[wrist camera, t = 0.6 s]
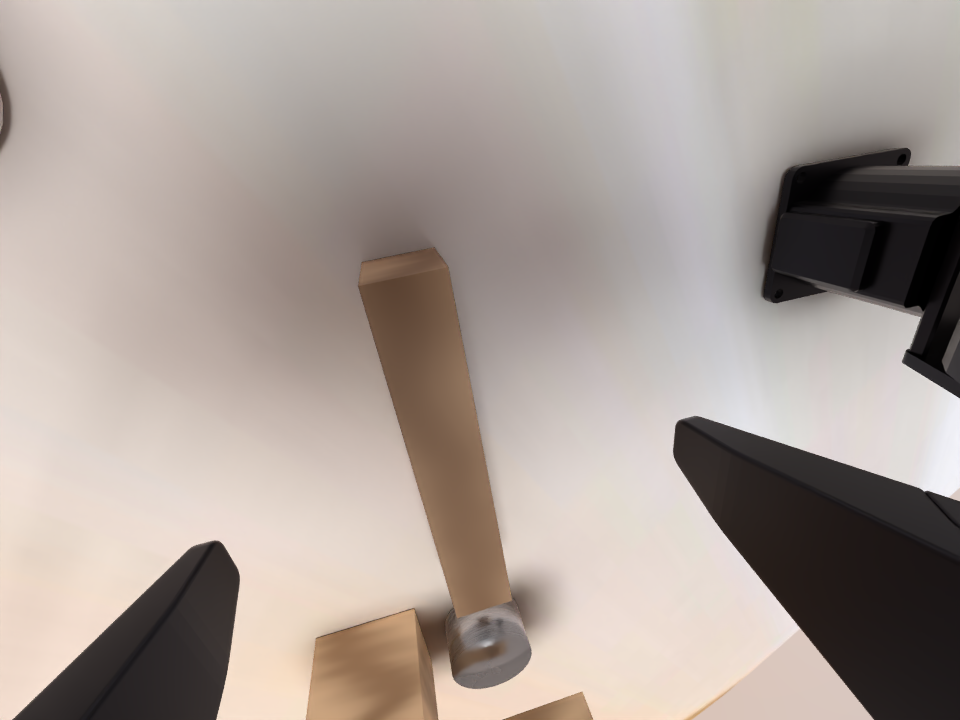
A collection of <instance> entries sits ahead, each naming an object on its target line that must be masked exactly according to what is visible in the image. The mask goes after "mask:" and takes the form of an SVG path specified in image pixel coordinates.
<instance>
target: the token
mask: <svg viewBox="0 0 960 720" xmlns="http://www.w3.org/2000/svg"><path fill="white" fill-rule="evenodd" d="M445 629H446V636H447V643H448V649H449V656H450V663H451V669H452V676H453V678H454V680H455V681H456V682H457V683H458V684H459V685H461V686H463V687H467V688H472V689H481V688H488V687H493V686H496V685H499V684H501V683H504V682H506V681H508V680H510V679H511V678H513V677H515V676H516V675H517V674H519V673H520V672H521V671H522V670H523V669H524V668H525V667H526V665H527V664H528V662H529V660H530V658H531V647H530V644H529V641H528V638H527V634H526V631H525V628H524V625H523V622H522V619H521V616H520V613H519V609H518V606H517V603H516V601H515V600H514V599H513V598H512V601H509V602H506V603H503V604H500V605H497V606H494V607H491V608H488V609H485V610H481V611H478V612H475V613H472V614H469V615H466V616H463V617H460V618H457V616H456V613H455V609H454V608H453V609H452V610H451V611H450V612H449V614H448V616H447V618H446V621H445Z"/></svg>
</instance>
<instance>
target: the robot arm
mask: <svg viewBox="0 0 960 720" xmlns="http://www.w3.org/2000/svg"><path fill="white" fill-rule="evenodd" d="M910 157H911V152H910V150H909V149H908V148H894V149H889V150H883V151H877V152H872V153H866V154H861V155H855V156H849V157H844V158H838V159H832V160H827V161H821V162H815V163H810V164H804V165H798V166H795V167H792V168H791V169H790V170H789V171H788V173H787V174H786V176H785V180H784V185H783V191H782V196H781V202H780V207H779V213H778V218H777V224H776V230H775V235H774V241H773V246H772V252H771V257H770V263H769V269H768V274H767V280H766V285H765V291H764V298H765V300H767V301H770V302H773V303H779V302H784V301H788V300H792V299H797V298H801V297H805V296H810V295H814V294H818V293H823V292H827V291H829V292H833V293H836V294H840V295H844V296H847V297H851V298H854V299H858V300H861V301H865V302H869V303H872V304H876V305H879V306H883V307H886V308H890V309H894V310H897V311H901V312H904V313H908V314H911V315H915V316H919V317H921V319H920V322H919V325H918V327H917V330H916V333H915V336H914V338H913V341H912V344H911V347H910V349H907V350H906V352H905V355H904V357H903V360H902V363H904V364H905V365H907V366H908V367H910V368H912V369H913V370H915V371H917V372H918V373H920V374H921V375H923V376H925V377H926V378H928V379H930V380H931V381H933V382H934V383H936V384H938V385H939V386H941V387H942V388H944V389H946V390H947V391H949V392H951V393H952V394H954V395H955V396H957V397H959V398H960V166H908V164H909V161H910ZM798 175H799V177H798ZM797 177H798V180H797ZM775 292H776V293H775ZM673 454H674V458H675V461H676V463H677V465H678V466H679V468H680V469H681V471H682V472H683V474H684V475H685V477H686V478H687V480H688V481H689V483H690V484H691V486H692V487H693V489H694V490H695V492H696V493H697V495H698V496H699V498H700V500H701V501H702V503H703V504H704V506H705V507H706V509H707V510H708V512H709V513H710V515H711V516H712V518H713V519H714V520H715V522H716V523H717V525H718V526H719V527H720V529H721V530H722V531H723V533H724V534H725V535H726V537H727V538H728V539H729V540H730V542H731V543H732V544H733V545H734V547H735V548H736V549H737V550H738V551H739V553H740V554H741V555H742V556H743V558H744V559H745V560H746V561H747V563H748V564H749V565H750V566H751V568H752V569H753V570H754V571H755V573H756V574H757V575H758V576H759V578H760V579H761V580H762V581H763V583H764V584H765V585H766V586H767V587H768V589H769V590H770V591H771V592H772V594H773V595H774V596H775V597H776V599H777V600H778V601H779V602H780V604H781V605H782V606H783V607H784V609H785V610H786V611H787V612H788V614H789V615H790V616H791V617H792V618H793V620H794V621H795V622H796V623H797V625H798V626H799V627H800V628H801V630H802V631H803V632H804V633H805V635H806V636H807V637H808V638H809V640H810V641H811V642H812V643H813V645H814V646H815V647H816V648H817V650H819V652H820V653H821V654H822V656H823V657H824V658H825V659H826V661H827V662H828V663H829V664H830V666H831V667H832V668H833V669H834V671H835V672H836V673H837V674H838V676H839V677H840V678H841V679H842V680H843V682H844V683H845V684H846V685H847V687H848V688H849V689H850V690H851V692H852V693H853V694H854V695H855V697H856V698H857V699H858V700H859V702H860V703H861V704H862V705H863V707H864V708H865V709H866V710H867V712H868V713H869V714H870V715H871V716H872V718H873V719H874V720H960V501H957V500H953V499H951V498H948V497H945V496H942V495H939V494H936V493H933V492H930V491H925V492H924V491H923V490H921V489H920V488H917V487H914V486H911V485H908V484H905V483H902V482H899V481H895V480H892V479H889V478H886V477H883V476H880V475H877V474H874V473H871V472H868V471H865V470H862V469H859V468H856V467H853V466H849V465H846V464H843V463H840V462H837V461H834V460H831V459H828V458H825V457H822V456H819V455H816V454H813V453H810V452H807V451H803V450H800V449H797V448H794V447H791V446H788V445H785V444H782V443H779V442H776V441H773V440H770V439H767V438H764V437H761V436H757V435H754V434H751V433H748V432H745V431H742V430H739V429H736V428H733V427H730V426H727V425H724V424H721V423H718V422H714V421H711V420H708V419H705V418H702V417H699V416H693V417H689V418H685V419H681V420H679V421H678V422H677V423H676V426H675V436H674V447H673ZM239 585H240V576H239V571H238V569H237V567H236V565H235V563H234V562H233V560H232V558H231V557H230V555H229V553H228V552H227V550H226V548H225V547H224V545H223V544H222V543H221V542H220V541H210V542H206V543H202V544H199V545H196V546H193V547H191V548H190V549H189V550H188V551H187V552H186V553H185V554H184V555H183V556H182V557H181V558H180V559H178V560H177V561H176V562H175V563H174V564H173V565H172V566H171V567H170V568H169V569H168V570H167V571H166V572H165V573H164V574H163V575H162V576H161V577H160V578H159V579H158V580H157V581H156V582H155V583H154V584H153V585H152V586H151V587H149V588H148V589H147V590H146V591H145V592H144V593H143V594H142V595H141V596H140V597H139V598H138V599H137V600H136V601H135V602H134V603H133V604H132V605H131V606H130V607H129V608H128V609H127V610H126V611H125V612H124V613H123V614H122V615H120V616H119V617H118V618H117V619H116V620H115V621H114V622H113V623H112V624H111V625H110V626H109V627H108V628H107V629H106V630H105V631H104V632H103V633H102V634H101V635H100V636H99V637H98V638H97V639H96V640H95V641H94V642H93V643H91V644H90V645H89V646H88V647H87V648H86V649H85V650H84V651H83V652H82V653H81V654H80V655H79V656H78V657H77V658H76V659H75V660H74V661H73V662H72V663H71V664H70V665H69V666H68V667H67V668H66V669H65V670H63V671H62V672H61V673H60V674H59V675H58V676H57V677H56V678H55V679H54V680H53V681H52V682H51V683H50V684H49V685H48V686H47V687H46V688H45V689H44V690H43V691H42V692H41V693H40V694H39V695H38V696H37V697H35V698H34V699H33V700H32V701H31V702H30V703H29V704H28V705H27V706H26V707H25V708H24V709H23V710H22V711H21V712H20V713H19V714H18V715H17V716H16V717H15V718H14V719H13V720H216V718H217V714H218V710H219V706H220V702H221V698H222V694H223V689H224V685H225V680H226V675H227V670H228V664H229V658H230V650H231V643H232V636H233V628H234V621H235V614H236V607H237V599H238V592H239Z"/></svg>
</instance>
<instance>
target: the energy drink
mask: <svg viewBox="0 0 960 720" xmlns="http://www.w3.org/2000/svg"><path fill="white" fill-rule="evenodd" d="M2 125H3V102H2V98H1V94H0V133H1V129H2Z"/></svg>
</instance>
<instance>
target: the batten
mask: <svg viewBox="0 0 960 720" xmlns="http://www.w3.org/2000/svg"><path fill="white" fill-rule="evenodd" d="M358 287H359V291H360V294H361V297H362V301H363V304H364V307H365V311H366V314H367V318H368V321H369V324H370V328H371V331H372V334H373V338H374V341H375V344H376V348H377V351H378V354H379V358H380V361H381V364H382V368H383V371H384V375H385V378H386V381H387V385H388V388H389V391H390V395H391V398H392V401H393V405H394V408H395V411H396V415H397V418H398V422H399V425H400V428H401V432H402V435H403V438H404V442H405V445H406V448H407V452H408V455H409V458H410V462H411V465H412V469H413V472H414V475H415V479H416V482H417V485H418V489H419V492H420V495H421V499H422V502H423V505H424V509H425V512H426V515H427V519H428V522H429V526H430V529H431V532H432V536H433V539H434V542H435V546H436V549H437V552H438V556H439V559H440V562H441V566H442V569H443V573H444V576H445V579H446V583H447V586H448V589H449V593H450V596H451V599H452V603H453V606H454V609H455V613H456V616H457V618H460V617H463V616H466V615H469V614H472V613H475V612H478V611H481V610H485V609H488V608H491V607H494V606H497V605H500V604H503V603H506V602H509V601H512V597H511V592H510V586H509V581H508V576H507V571H506V566H505V560H504V555H503V550H502V545H501V540H500V534H499V529H498V524H497V519H496V514H495V508H494V503H493V498H492V493H491V488H490V482H489V477H488V472H487V467H486V462H485V456H484V451H483V446H482V441H481V435H480V430H479V425H478V420H477V415H476V409H475V404H474V399H473V394H472V389H471V383H470V378H469V373H468V368H467V363H466V357H465V352H464V347H463V342H462V337H461V331H460V326H459V321H458V316H457V311H456V305H455V300H454V295H453V290H452V285H451V279H450V274H449V269H448V266H447V265H446V263H445V262H444V260H443V259H442V258H441V256H440V255H439V253H438V252H437V250H436V249H435V247H434V248H429V249H424V250H419V251H414V252H409V253H404V254H399V255H395V256H390V257H385V258H380V259H375V260H370V261H365V262H362V264H361V271H360V277H359V284H358Z"/></svg>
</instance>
